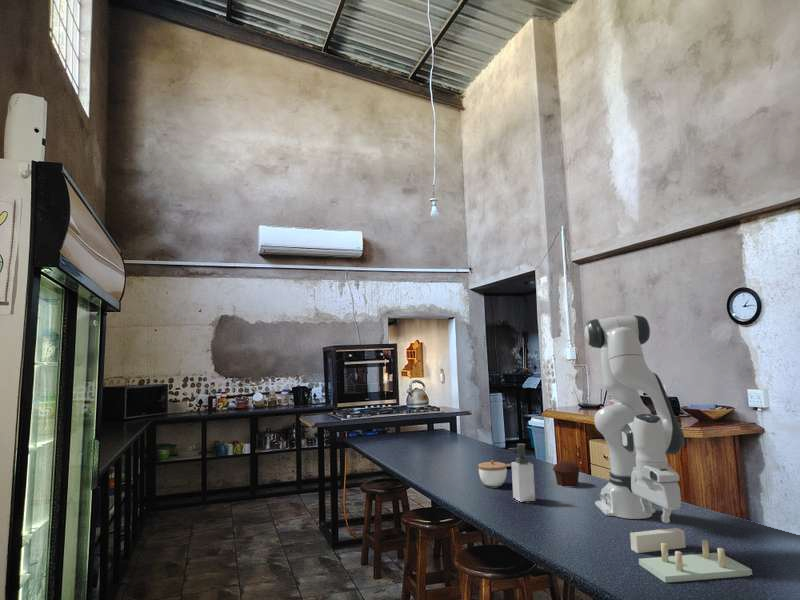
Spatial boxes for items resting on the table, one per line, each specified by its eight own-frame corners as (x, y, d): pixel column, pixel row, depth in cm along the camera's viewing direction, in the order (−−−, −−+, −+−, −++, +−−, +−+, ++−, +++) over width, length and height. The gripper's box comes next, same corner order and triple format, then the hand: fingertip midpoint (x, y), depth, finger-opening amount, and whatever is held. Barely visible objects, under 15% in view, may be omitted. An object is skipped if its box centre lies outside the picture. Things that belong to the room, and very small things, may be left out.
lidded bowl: (510, 488, 231) (508, 462, 232) (481, 489, 231) (479, 463, 232) (504, 481, 244) (503, 457, 245) (477, 482, 244) (476, 457, 245)
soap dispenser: (507, 499, 214) (505, 443, 217) (528, 497, 216) (525, 442, 218) (514, 503, 208) (511, 446, 210) (535, 501, 210) (532, 445, 212)
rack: (665, 582, 134) (663, 558, 135) (639, 564, 146) (637, 541, 147) (752, 575, 137) (750, 551, 137) (719, 558, 149) (717, 535, 149)
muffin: (579, 481, 239) (577, 459, 240) (583, 487, 229) (581, 464, 230) (552, 481, 241) (550, 459, 242) (554, 487, 231) (553, 464, 232)
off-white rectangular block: (637, 553, 154) (636, 535, 155) (631, 550, 157) (630, 532, 158) (685, 548, 157) (684, 530, 158) (678, 544, 160) (677, 527, 161)
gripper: (624, 463, 170) (627, 508, 168) (662, 477, 149) (666, 528, 148) (642, 462, 170) (646, 506, 169) (683, 476, 150) (687, 527, 149)
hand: (656, 517), depth 158 cm, fingers open, 8 cm apart
